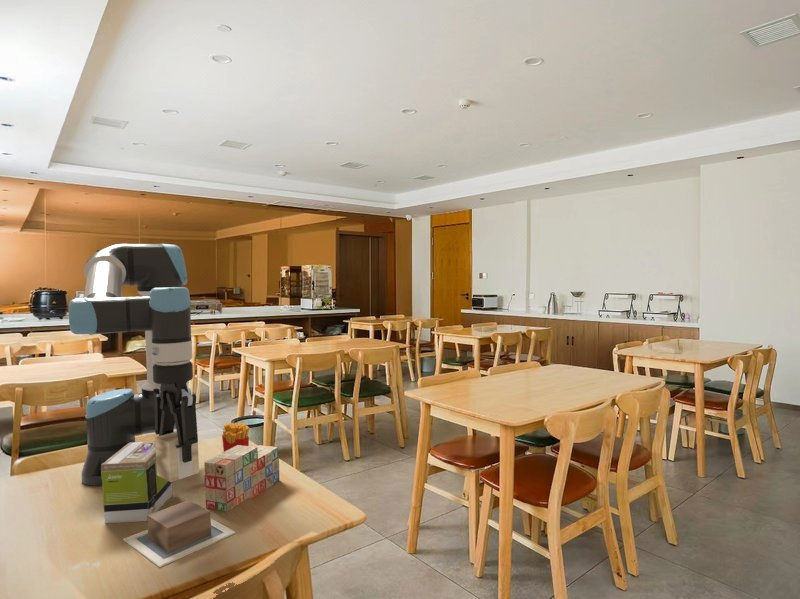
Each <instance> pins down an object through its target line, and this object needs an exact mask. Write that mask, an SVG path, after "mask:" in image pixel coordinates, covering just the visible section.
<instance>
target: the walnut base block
mask: <svg viewBox="0 0 800 599" xmlns="http://www.w3.org/2000/svg"><path fill="white" fill-rule="evenodd" d="M211 519H212V517H211V510H208V508H206V507H204V506H201V505H199V504H197V503H195V502H194V501H192V500H190V499H188V500H185V501H181V502H179V503H177V504H174V505H171V506H169V507H166V508H163V509H159V510H158V511H157V512H154V513H152V514H149V515H147V520H148V521H147V529H148V539H150V540H151V541H152V542H154V543H155V544H157V545H158V546H160V547H161V548H162V549H164V550H165V551H167V552H168V553H171V552H173V551H175V550H177V549H180V548H182V547H184V546H187V545H189V544H191V543H194V542H196V541H198V540H200V539H203V538H205V537H207V536H210V535H211Z"/></svg>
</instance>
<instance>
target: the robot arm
mask: <svg viewBox="0 0 800 599" xmlns="http://www.w3.org/2000/svg"><path fill="white" fill-rule="evenodd" d="M83 276H84V279H85V281H86V283H85V288H84V293H83V297H81V298H73V299H71V300H70V301H69V304H68V323H69V324H68V325H69V330H70V331H71V333H72V334H74V335H89V336H90V335H91V336H93V335H100V334H101V335H102V334H114V333H115V334H116V333H128V332H129V333H131V332H144V335H145V336H144V339H145V359H146V360H145V362H146V364H145V365H146V382H144V384H143V385H141V392H140V393H135V392H134V390H133V389H132V388H120V389H114V390H110V391H106V392H102V393H99V394H97V395H95V396H92V397H91V398H90V399H88V400H87V402H86V405H85V416H84V417H85V419H86V435H87V436H86V438H87V454H86V457H85V460H84V464H83V467H82V470H81V482H82V484H84V485H87V486H95V487H96V486H97V487H98V486H102V475H101V464H103V463H104V462H105V461H107V460H108V459H109V458H110V457H112V456H113V455H114V454H115V453H117V452H118V451H119V450H121V449H122V448H123V447H124V446H126V445H127V444H128V443H130V442H136V436H140V435H147V434H153V433H154V434H155V435H158V436H161V435H165V434H169V433H173V432H175V431H174V430H176V432H177V436H178V441H179V445H176V448H177V463H178V479H179V480H182V479H185V478H187V477H191V476H194V475H193V470H192V444H194V443H197V442H199V436H198V434H199V433H198V424H197V423H198V422H197V420H198V419H197V409H196V406H197V405H196V404H197V395H196V393H195V394H194V393H193V394H192V390H191V388H190V387H188V384H187V383H188V382H190V381H192V379H193V378H194V365H193V362H192V361H191V360H192V359H193V339H192V324H191V323H192V321H191V320H192V319H191V318H192V316H191V306H192V301H191V297H190V296H191V295H190V290H189V288H188V287H185V286H184V285H186V284H188V272H187V267H186V262H185V257H184V254H183V251H182V249H181V247H180V246H178V245H177V244H169V243H117V244H113V245H109V246H107V247H104V248H102V249H100V250H98V251H96V252H95V253H93V254H92V255H91V256H90V257H89V258H87V260H86V262H85V265H84V268H83ZM122 286H123V287H124V286H130V287H131V286H136V290H137V292H136V293H138V294H139V295H140V296H122V295H123V288H122Z"/></svg>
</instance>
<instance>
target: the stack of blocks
mask: <svg viewBox="0 0 800 599" xmlns="http://www.w3.org/2000/svg"><path fill="white" fill-rule="evenodd" d="M203 466H204V487H205V488H204V490H205V509H212V510H218V511H222V512H229V511H231V510H232V509H233V508H235V507H237V506H238V505H240V504H241V503H242V502H245V501H246V500H247V499H249V498H250V499H252V500H253V499H254V498H256V497H257V496H259V495H260V494H261V493H263V492H264V491H265V490H267V489H269V488H271V487H272V486H273V485H275V484H276V483H278V482H279V481H280V458H279V447H278V446H270V445H269V446H267V445H263V444H262V445H261V444H259V445H257V446H250V445H249V446H241V445H237V446H235V447H233V448H231V449H229V450H227V451H225V452H224V451H223V452H221V453H219V454H218V455H216V456H214V457H211V458H209V459H208V460H206V461H204V463H203Z"/></svg>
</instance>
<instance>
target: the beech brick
mask: <svg viewBox="0 0 800 599" xmlns="http://www.w3.org/2000/svg"><path fill="white" fill-rule="evenodd" d="M154 441H155V447H156V467H157V475H158V476H159V477H161V478H163V479H165V480H167V481H169V482H172V483H173V482H176V481H179V480H180V479H178V463H177V448H176V445H179V441H178V436H177V431H174V432H173V433H169V434H165V435H161V436H159V435H158V436H155V437H154ZM198 442H199V441H198ZM198 442H197V443H194V444H192V470H193V475H192V476H194V475H196V474H197V475H198V474H199V473H200V466H199V464H200V462H199V461H200V460H199V443H198Z"/></svg>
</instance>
